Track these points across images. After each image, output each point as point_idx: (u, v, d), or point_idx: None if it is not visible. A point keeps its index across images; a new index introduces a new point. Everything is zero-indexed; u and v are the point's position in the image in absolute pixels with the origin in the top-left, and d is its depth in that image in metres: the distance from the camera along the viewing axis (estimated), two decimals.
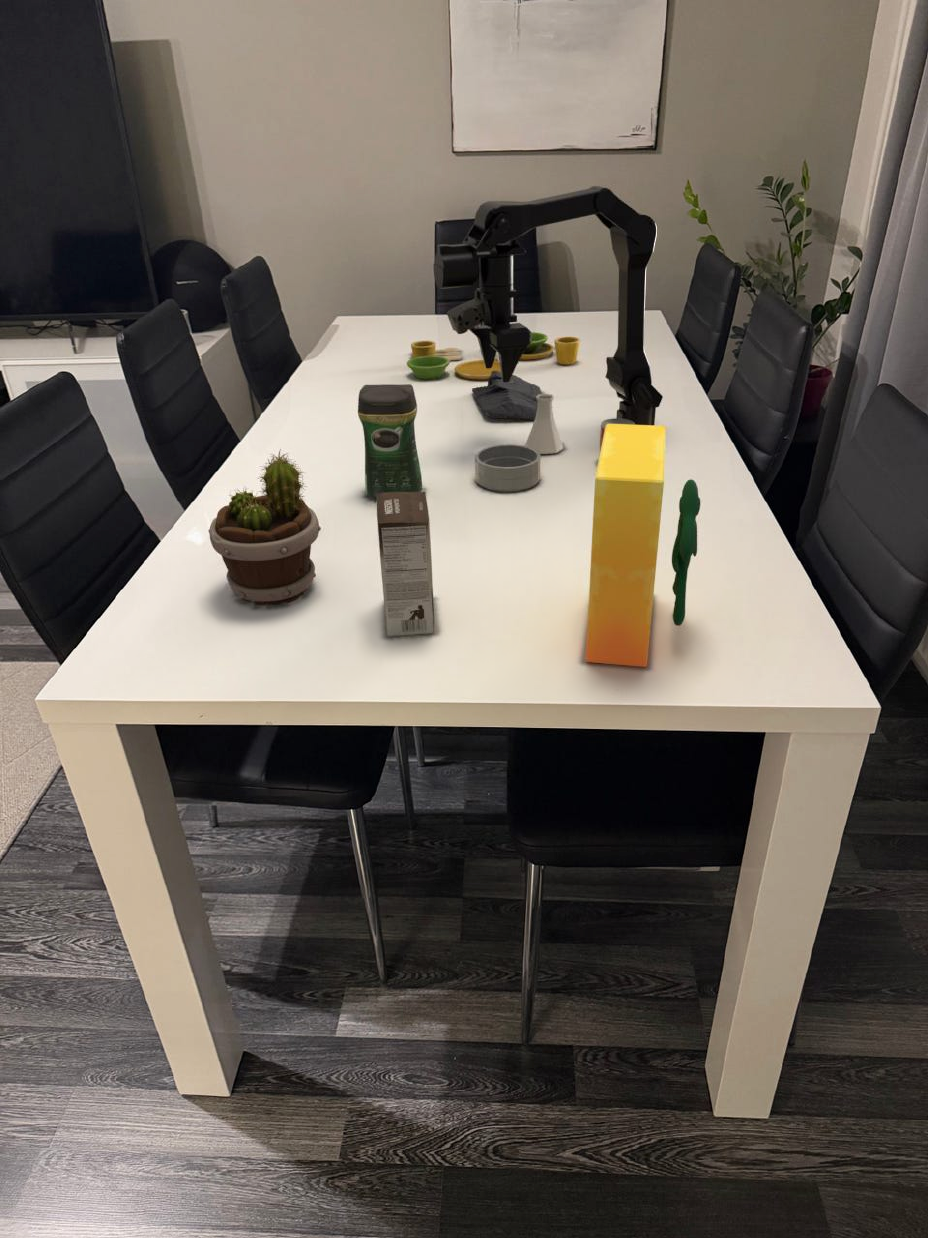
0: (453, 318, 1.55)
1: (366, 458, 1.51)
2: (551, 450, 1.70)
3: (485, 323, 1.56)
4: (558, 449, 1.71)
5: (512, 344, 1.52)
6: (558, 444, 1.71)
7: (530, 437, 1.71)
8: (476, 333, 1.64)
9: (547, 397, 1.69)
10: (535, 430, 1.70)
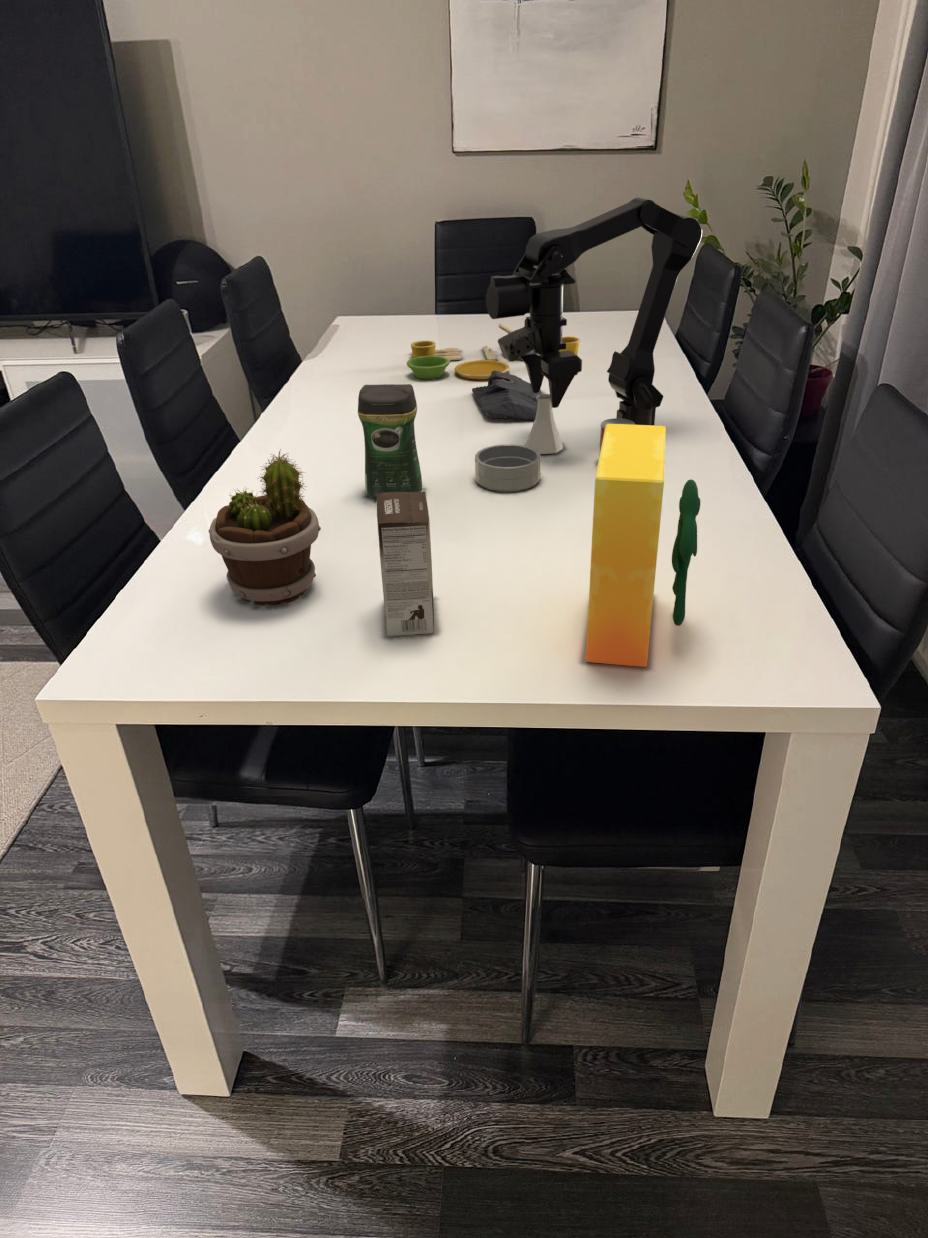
0: (505, 346, 1.59)
1: (366, 458, 1.51)
2: (551, 450, 1.70)
3: (536, 351, 1.60)
4: (558, 449, 1.71)
5: (563, 372, 1.56)
6: (558, 444, 1.71)
7: (530, 437, 1.71)
8: (524, 359, 1.68)
9: (547, 397, 1.69)
10: (534, 430, 1.70)
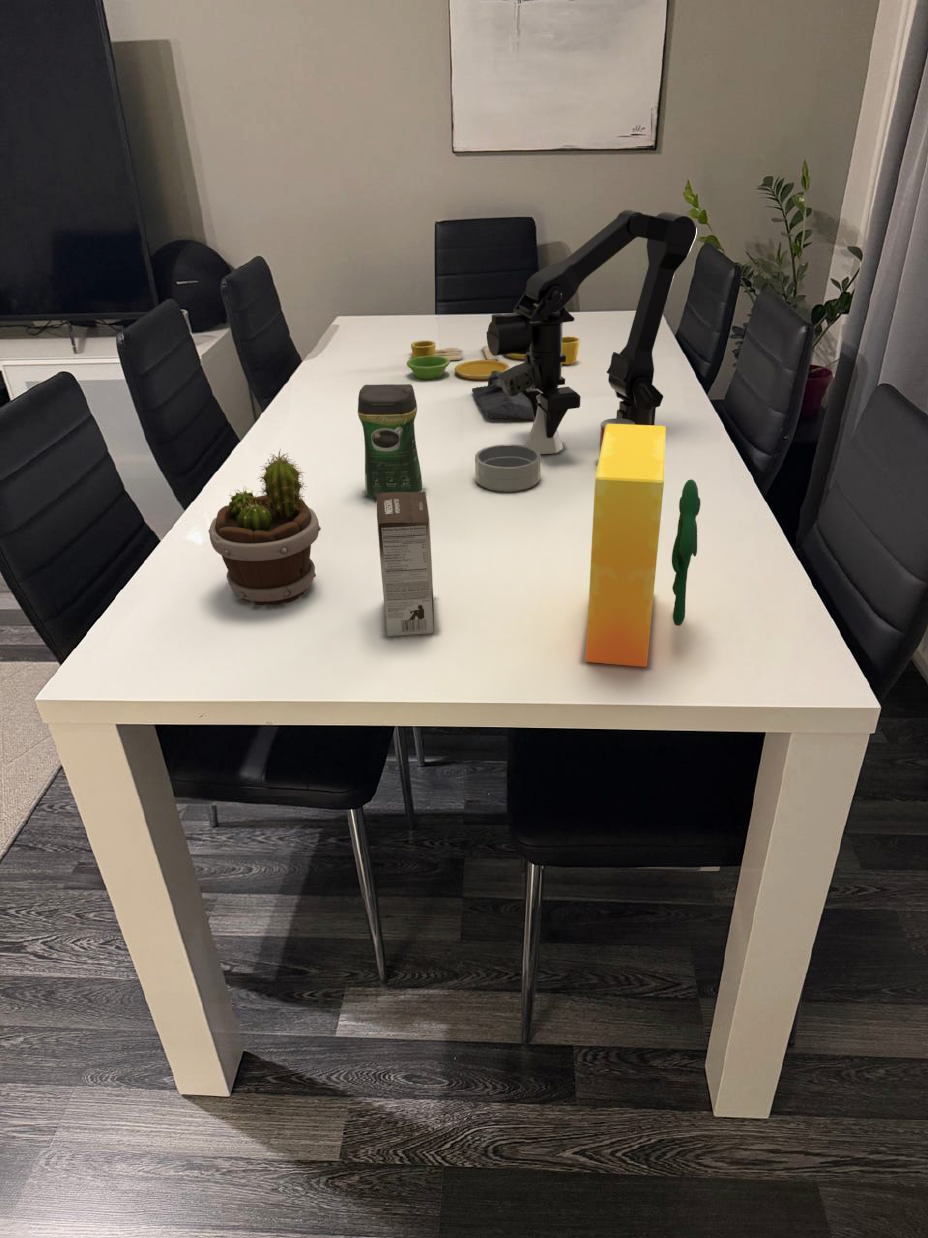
0: (505, 382, 1.62)
1: (366, 458, 1.51)
2: (551, 450, 1.70)
3: (535, 386, 1.63)
4: (558, 449, 1.71)
5: (562, 408, 1.60)
6: (558, 444, 1.71)
7: (530, 437, 1.71)
8: (528, 396, 1.70)
9: None
10: (534, 430, 1.70)
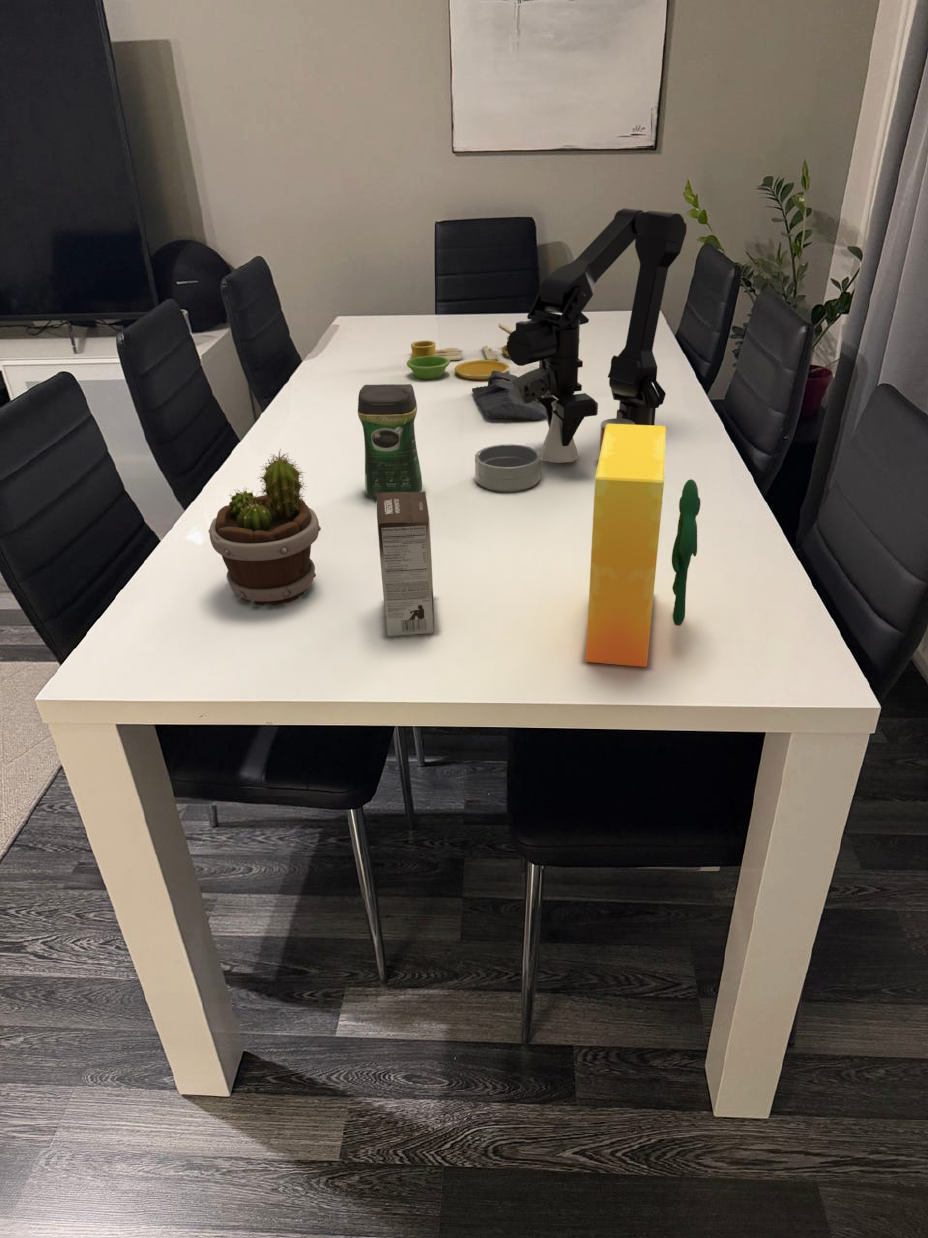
0: (519, 388, 1.56)
1: (366, 458, 1.51)
2: (566, 459, 1.63)
3: (551, 393, 1.57)
4: (573, 458, 1.64)
5: (579, 415, 1.53)
6: (574, 452, 1.64)
7: (545, 445, 1.64)
8: (543, 402, 1.64)
9: None
10: (549, 438, 1.63)
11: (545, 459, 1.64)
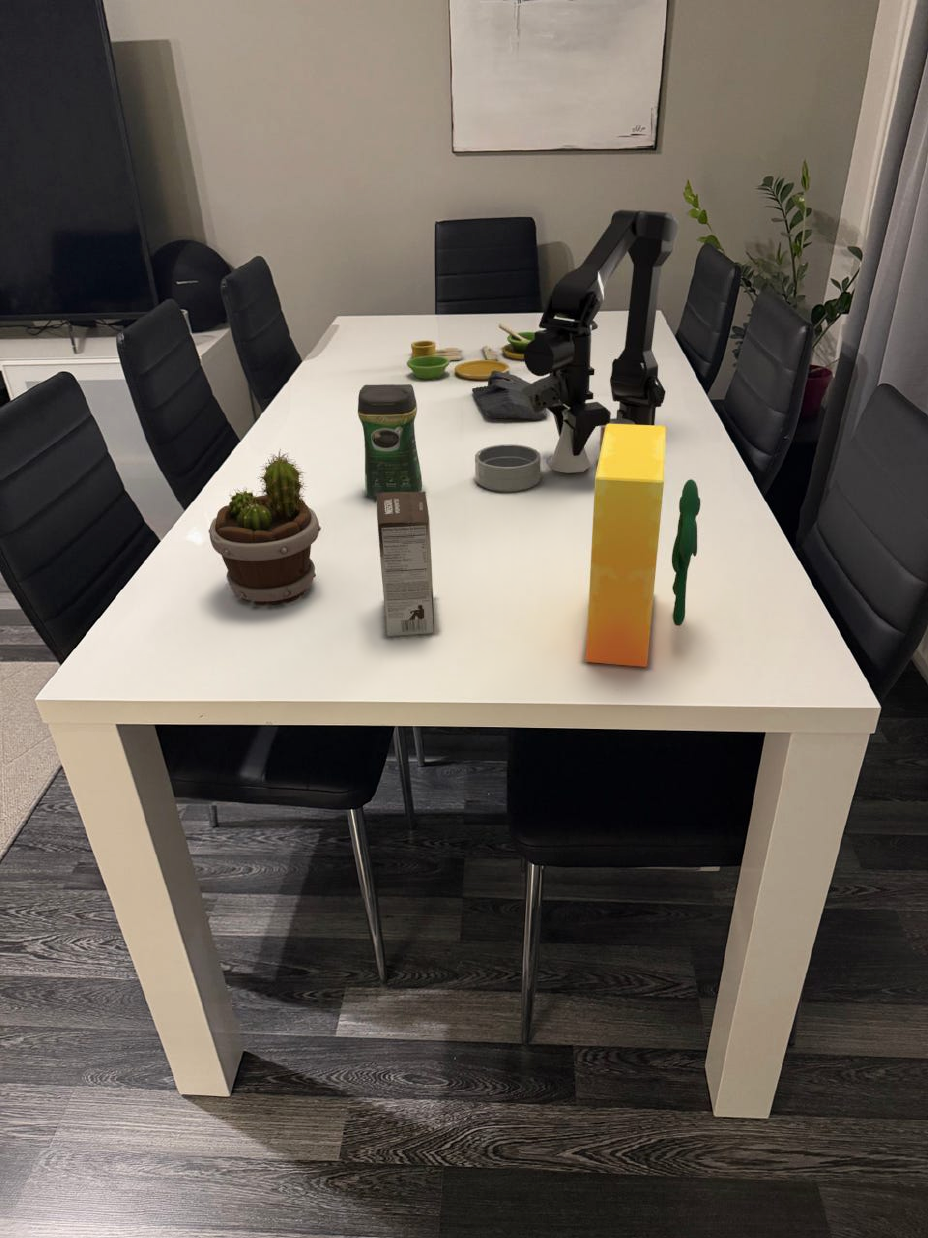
0: (530, 397, 1.52)
1: (366, 458, 1.51)
2: (578, 468, 1.60)
3: (562, 402, 1.53)
4: (584, 467, 1.60)
5: (591, 425, 1.49)
6: (585, 462, 1.60)
7: (555, 455, 1.61)
8: (553, 411, 1.60)
9: None
10: (560, 447, 1.59)
11: (555, 469, 1.60)
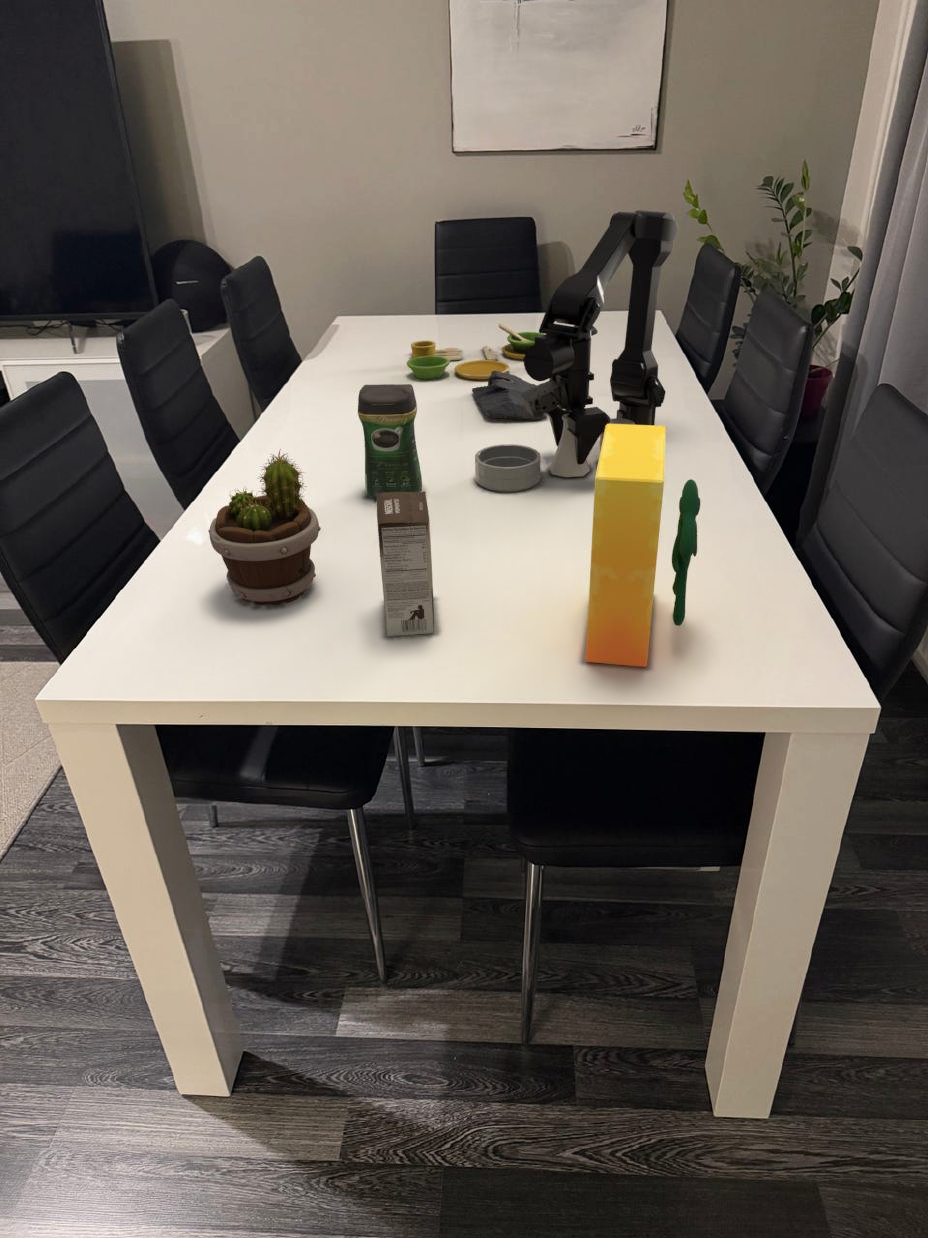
0: (529, 402, 1.52)
1: (366, 458, 1.51)
2: (577, 473, 1.60)
3: (561, 406, 1.53)
4: (584, 472, 1.61)
5: (591, 430, 1.50)
6: (584, 467, 1.61)
7: (555, 459, 1.61)
8: (548, 412, 1.62)
9: None
10: (560, 452, 1.60)
11: (555, 473, 1.61)
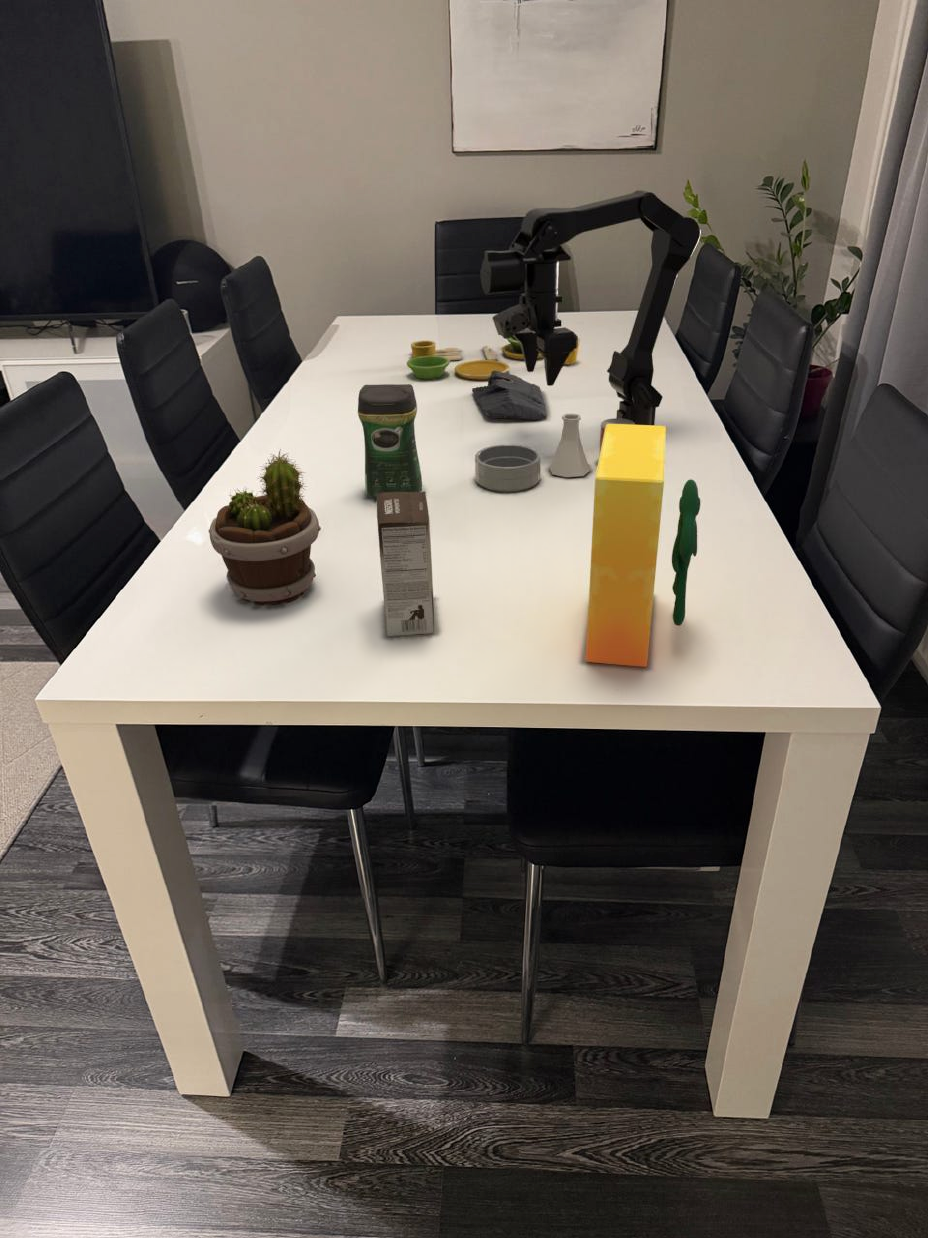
0: (500, 323, 1.58)
1: (366, 458, 1.51)
2: (577, 473, 1.60)
3: (531, 328, 1.59)
4: (584, 472, 1.61)
5: (559, 348, 1.55)
6: (584, 467, 1.61)
7: (555, 459, 1.61)
8: (519, 337, 1.67)
9: (573, 417, 1.59)
10: (560, 452, 1.60)
11: (555, 473, 1.61)
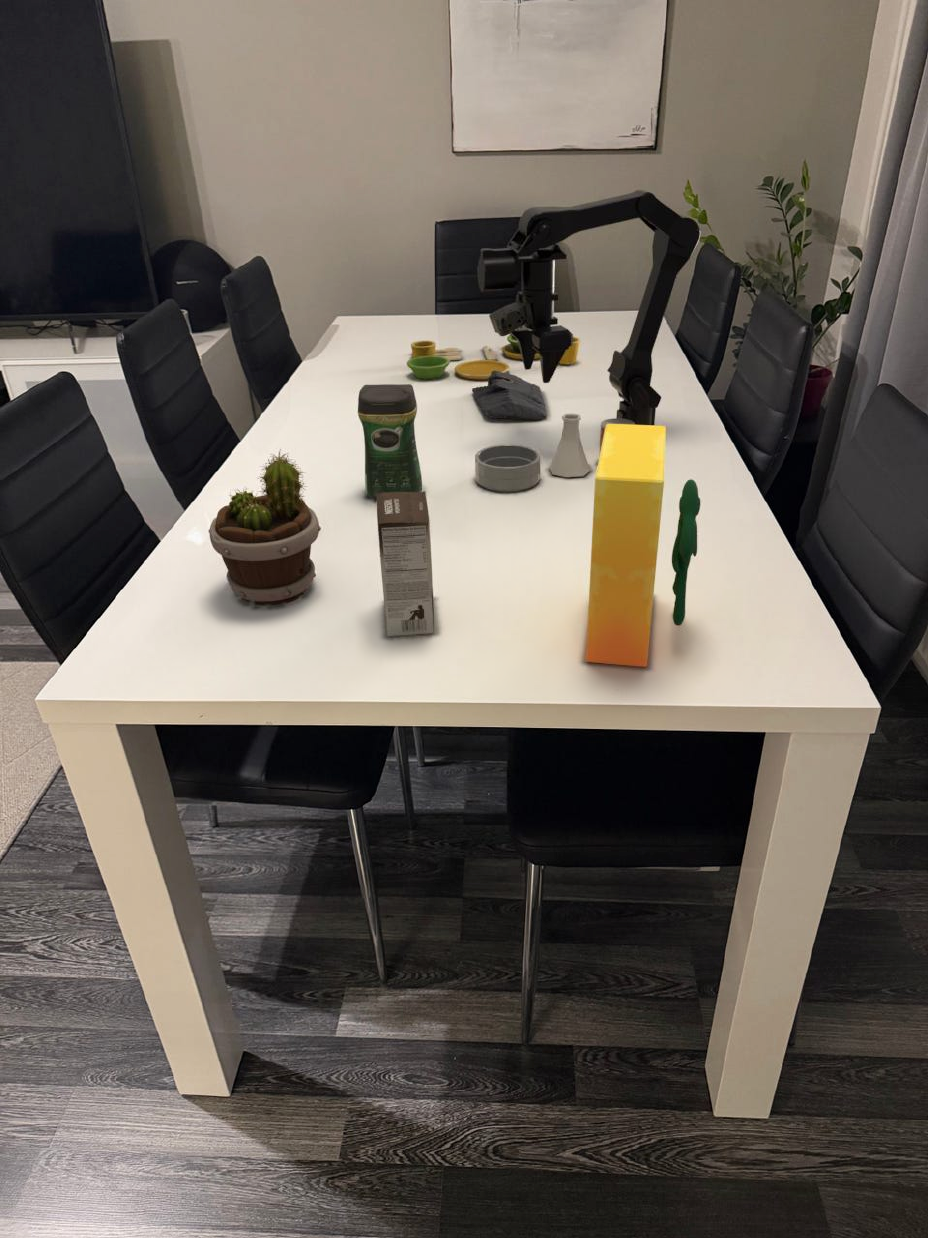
0: (496, 321, 1.59)
1: (366, 458, 1.51)
2: (577, 473, 1.60)
3: (527, 325, 1.60)
4: (584, 472, 1.61)
5: (554, 346, 1.57)
6: (584, 467, 1.61)
7: (555, 459, 1.61)
8: (516, 335, 1.69)
9: (573, 417, 1.59)
10: (560, 452, 1.60)
11: (555, 473, 1.61)
